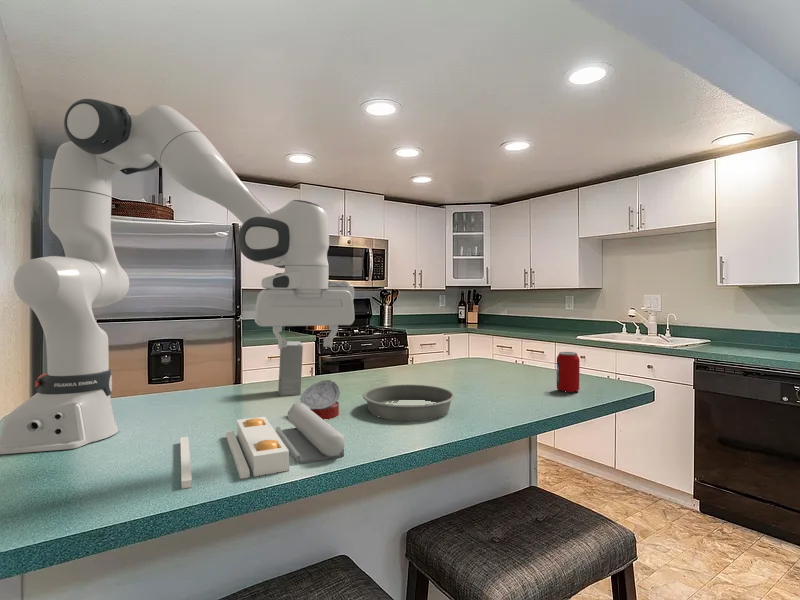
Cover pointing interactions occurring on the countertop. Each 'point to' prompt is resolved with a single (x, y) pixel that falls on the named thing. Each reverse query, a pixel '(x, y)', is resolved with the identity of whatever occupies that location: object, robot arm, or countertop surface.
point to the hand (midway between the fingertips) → (305, 347)
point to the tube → (316, 430)
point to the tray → (302, 447)
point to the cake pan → (408, 392)
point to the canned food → (322, 399)
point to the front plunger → (266, 445)
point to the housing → (248, 439)
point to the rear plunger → (253, 422)
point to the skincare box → (290, 369)
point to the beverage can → (568, 371)
